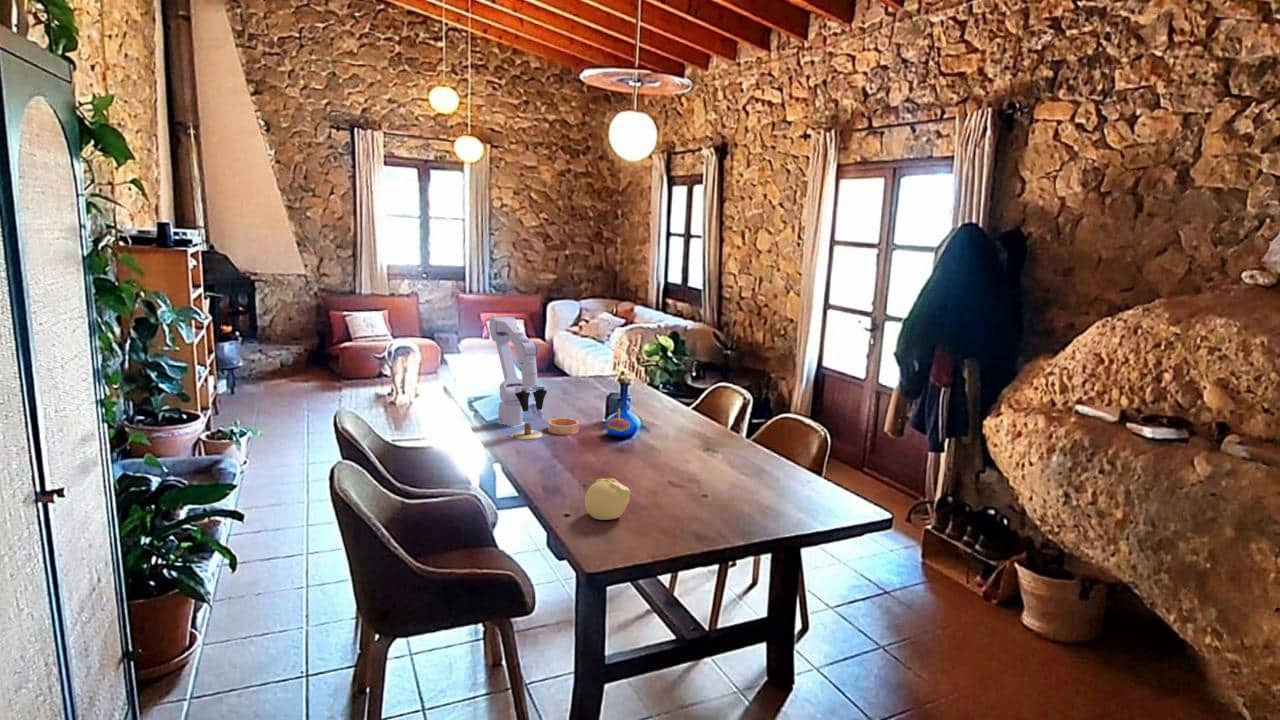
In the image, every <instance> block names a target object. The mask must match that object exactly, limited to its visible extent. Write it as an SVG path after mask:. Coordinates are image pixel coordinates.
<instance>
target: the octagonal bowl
mask: <svg viewBox="0 0 1280 720" xmlns="http://www.w3.org/2000/svg"><path fill="white" fill-rule="evenodd" d="M547 425H548V426H547V431H548V433H551V434H555V435H573V434H576V433H579V432H580V421H579V420H577V419H574V418H570V417H555V418H553V419H548V423H547Z"/></svg>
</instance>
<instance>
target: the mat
mask: <svg viewBox="0 0 1280 720" xmlns="http://www.w3.org/2000/svg"><path fill="white" fill-rule="evenodd" d="M541 433H542V432H541ZM507 435H509V434H506V435H505V437H507ZM509 436H510V435H509ZM549 436H551V435H550V434H546V433H542V437H541V438H539V439H534V440H521V439H518V441H522V442H525V443H528V444H529V443H532V442H536V441H538V440H541V439H544V438H546V437H549ZM512 439H515V438H514V437H513V438H512ZM515 440H517V438H516V439H515Z"/></svg>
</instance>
